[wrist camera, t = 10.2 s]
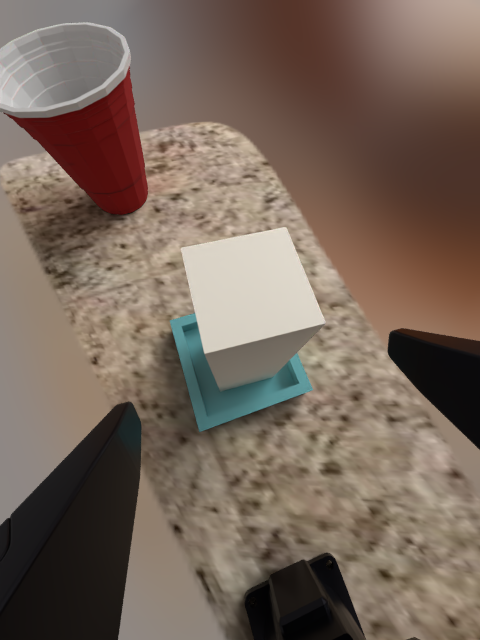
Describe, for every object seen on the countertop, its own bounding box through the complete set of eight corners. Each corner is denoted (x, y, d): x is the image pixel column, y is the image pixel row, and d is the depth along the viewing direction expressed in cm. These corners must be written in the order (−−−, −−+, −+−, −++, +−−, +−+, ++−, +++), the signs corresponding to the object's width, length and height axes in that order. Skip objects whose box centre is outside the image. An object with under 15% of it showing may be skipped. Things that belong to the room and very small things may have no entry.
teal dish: (306, 392, 22) (313, 389, 20) (202, 430, 20) (199, 432, 18) (267, 300, 25) (269, 290, 23) (174, 328, 23) (169, 320, 21)
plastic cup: (75, 165, 30) (-16, 17, 19) (167, 158, 31) (131, 13, 20) (65, 239, 26) (-56, 107, 15) (170, 229, 27) (128, 98, 16)
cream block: (272, 377, 21) (325, 323, 9) (220, 391, 21) (204, 353, 9) (257, 328, 23) (285, 227, 11) (208, 340, 22) (180, 248, 10)
